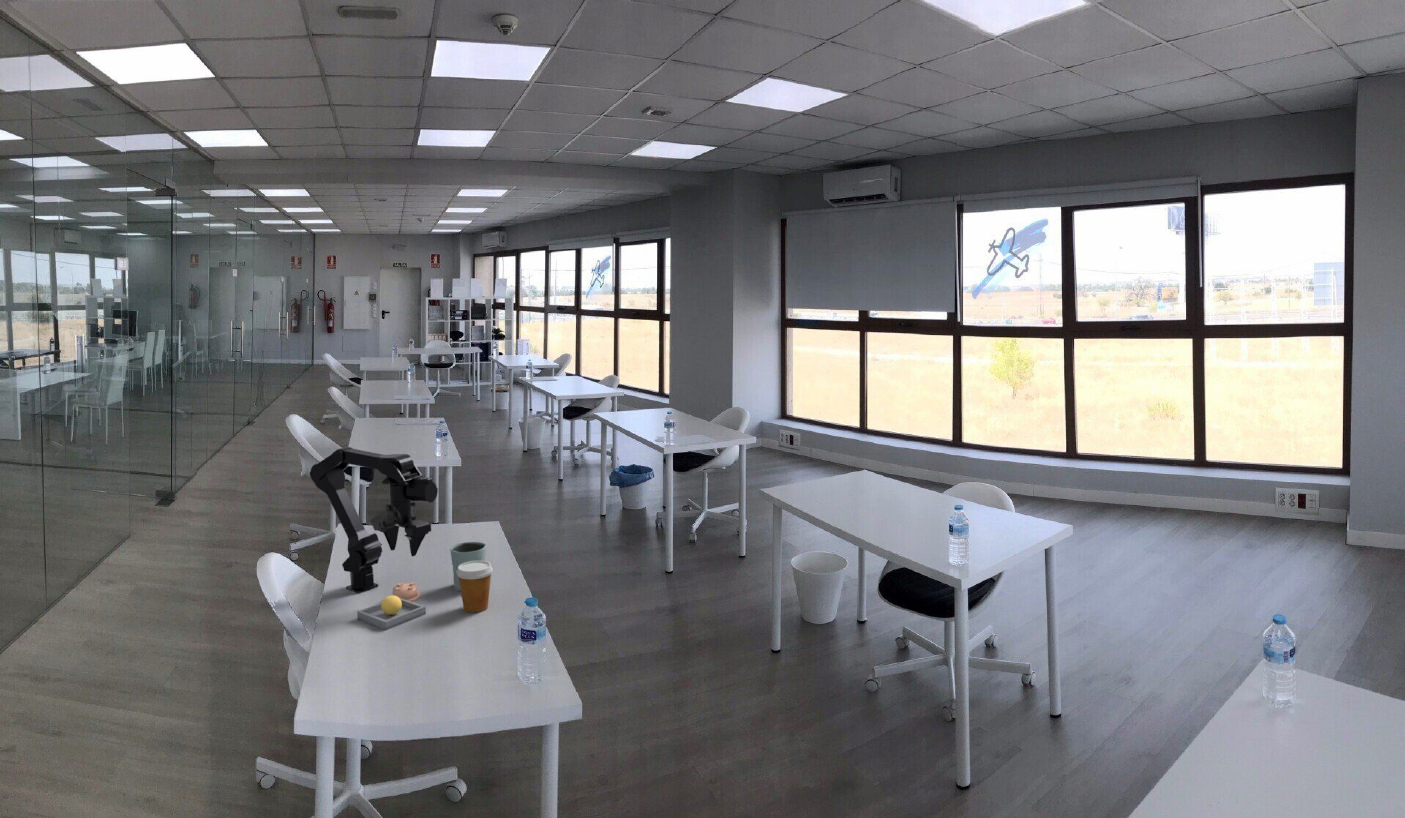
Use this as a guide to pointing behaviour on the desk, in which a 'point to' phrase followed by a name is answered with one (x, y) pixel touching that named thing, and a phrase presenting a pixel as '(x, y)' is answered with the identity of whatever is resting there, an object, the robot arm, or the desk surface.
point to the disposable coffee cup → (475, 585)
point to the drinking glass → (466, 556)
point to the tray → (385, 621)
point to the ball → (391, 605)
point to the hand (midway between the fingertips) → (403, 552)
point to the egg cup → (406, 591)
